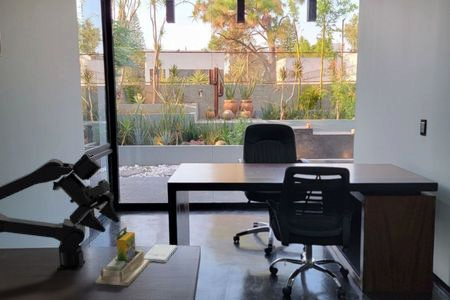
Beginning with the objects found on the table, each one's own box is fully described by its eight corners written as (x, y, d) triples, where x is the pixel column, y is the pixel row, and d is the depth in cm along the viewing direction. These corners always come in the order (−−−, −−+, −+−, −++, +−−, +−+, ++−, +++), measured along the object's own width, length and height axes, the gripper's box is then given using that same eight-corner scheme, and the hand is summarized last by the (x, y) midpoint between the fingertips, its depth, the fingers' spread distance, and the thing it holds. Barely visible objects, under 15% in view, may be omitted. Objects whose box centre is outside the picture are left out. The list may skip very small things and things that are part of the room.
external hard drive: (177, 249, 145) (165, 264, 133) (155, 248, 146) (141, 262, 134) (177, 245, 144) (165, 259, 132) (155, 244, 146) (141, 257, 134)
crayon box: (126, 271, 124) (124, 234, 123) (117, 270, 125) (115, 233, 123) (136, 261, 131) (134, 226, 130) (127, 260, 132) (125, 226, 130)
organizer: (96, 283, 119) (95, 266, 118) (120, 260, 134) (119, 246, 134) (128, 285, 117) (127, 269, 116) (149, 262, 132) (148, 248, 132)
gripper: (76, 179, 117) (114, 218, 116) (106, 167, 135) (139, 201, 134) (53, 205, 119) (90, 243, 119) (86, 190, 138) (118, 223, 137)
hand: (111, 226), depth 127 cm, fingers open, 9 cm apart
